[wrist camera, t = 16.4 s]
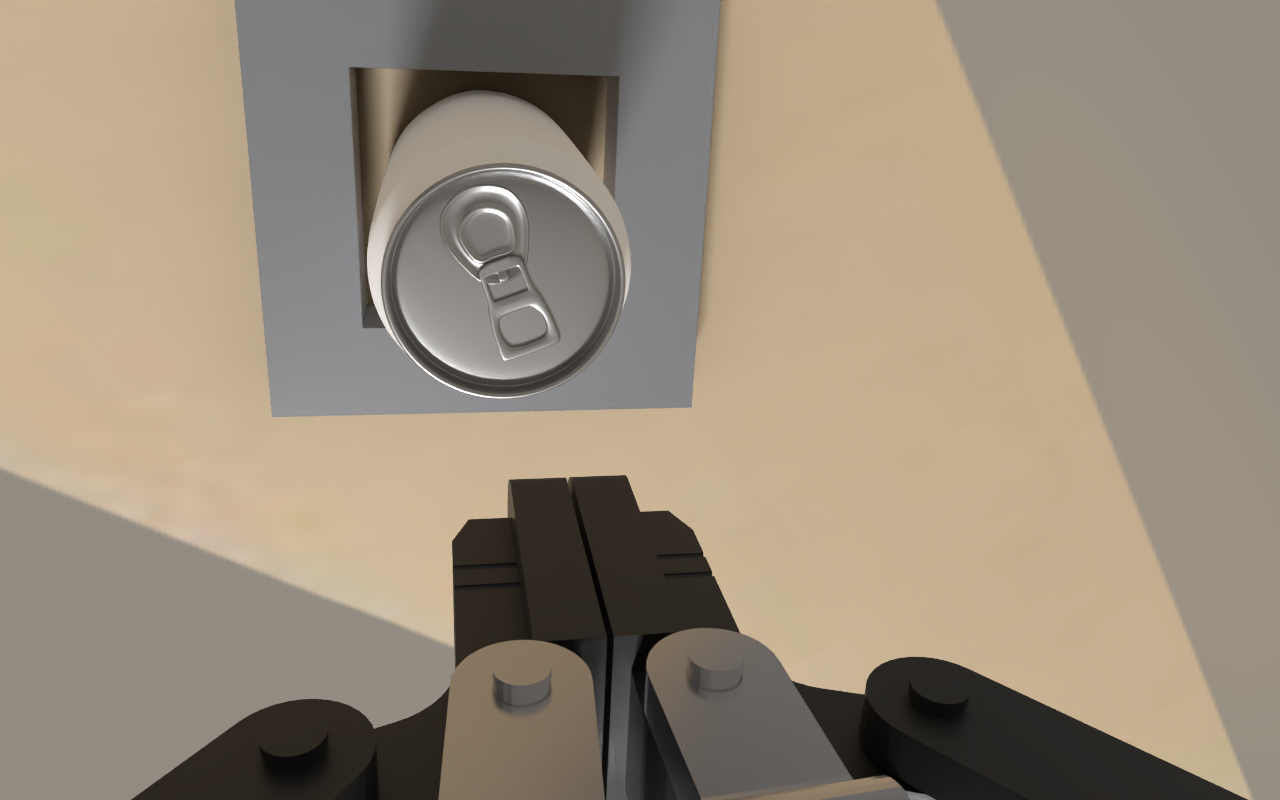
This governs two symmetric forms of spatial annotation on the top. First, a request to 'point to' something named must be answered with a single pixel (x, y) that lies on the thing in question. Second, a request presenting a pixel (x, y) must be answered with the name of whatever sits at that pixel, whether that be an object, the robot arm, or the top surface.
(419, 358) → the can
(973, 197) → the top surface
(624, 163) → the socket plate
